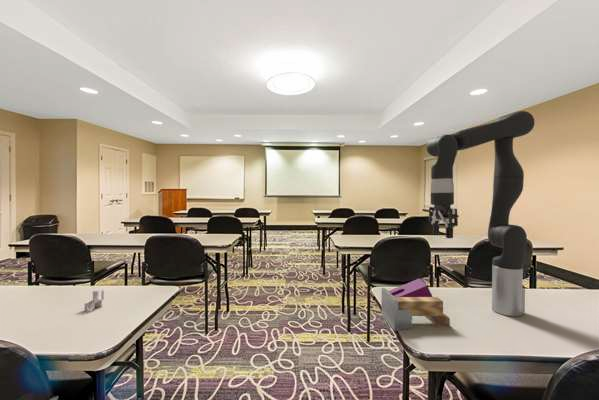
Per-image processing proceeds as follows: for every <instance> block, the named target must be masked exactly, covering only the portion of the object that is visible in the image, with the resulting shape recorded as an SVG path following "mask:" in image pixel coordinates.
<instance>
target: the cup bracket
mask: <svg viewBox="0 0 599 400" xmlns="http://www.w3.org/2000/svg"><path fill="white" fill-rule="evenodd" d="M389 291H390V290H388V289H386V288H385V287H384V288H383V287H382V288H381V316H382V318H383V319H384V320H385V321H386V323H387V324H388V326H390V327H391V329H392V330H393V331H394V332H399V331H400V330H412V328H413V327H412V325H413V323H412V321H413V319H412V318H413V316H412V311H411V310H398V300H397V299H396V298H395V297H394V296H393V295H392V294H391V293H390V292H389Z"/></svg>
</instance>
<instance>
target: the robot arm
mask: <svg viewBox="0 0 599 400" xmlns="http://www.w3.org/2000/svg"><path fill="white" fill-rule="evenodd" d="M535 122H536V121H535V119H534V116H533V115H532V113H531V112H528V111H525V110H520V111H519V110H518V111H514V112H511V113H508V114H504V115H502V116H500V117H499V118H497V119H496V121H494V122H491V123H485V124H481V125H477V126H472V127H469V128H465V129H461V130H458V131H456V132H454V133H450V134H442V135H440V136H437V137H434V138H432V139H430V140H429V141H428V143H427V144H426V151H427V153H428V154H429V155H430V156H431V157H435V158H437V159H436V162H434V163H433V164H432V165H431V167H430V181H431V182H430V205H432V206H429V208H428V222H429V223H431V225H432V235H433V236H439V235H440V222H441V221H442V223H444V225H445V238H446V239H453V238H454V228H455V227H458V226H459V221H458V220H459V219H458V208H455V207H454V208H452V205H455V193H454V192H455V183H454V165H455V161H456V157H457V153H458V151H463V150H468V149H470V148H474V147H477V146H480V145H482V144H483V145H484V144H487V143H489V142H492V141H493V145H494V166H493V167H494V170H493V181H492V182H493V183H492V202H491V211H490V217H489V224H488V230H487V238H488V242H490V244H491V245H492V246H494V247H498V248H502V253H501V255H498V256H494V257H493V258H492V264H491V265H492V267H491V270H492V271H491V274H492V276H491V309H492V311H494V313H497V314H501V315H504V316H507V317H521V316H522V315H525V314H526V313H525V312H526V311H525V310H526V309H525V308H526V307H525V306H526V303H525V302H526V289H525V288H524V287H523V285H524V284H523V283H524V282H523V272H524V271H523V270H524V263H525V261H526V257H527V247H528V246H527V244H528V237H527V232H526V230H525V229H524V228H523V226H519V225H516V224H510V223H509V220H510V214H511V211H512V208H513V207H514V205H515V203H516V202H517V201H518V199H519V198H520V196H521V194H522V192H523V191H524V181H525V179H524V177H525V173H524V172H525V171H524V169H523V166H521V164H520V162H519V160H518V158H517V157H516V156H515V153H514V139H515V138H520V137H523V136H526V135H528V134H529V133H530V132H532V130H534V127H535Z"/></svg>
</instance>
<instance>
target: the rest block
mask: <svg viewBox="0 0 599 400" xmlns="http://www.w3.org/2000/svg"><path fill="white" fill-rule="evenodd" d="M425 317H426V318H427V319H428V320H429V321H430V322H431V323H432V324H434V325H435V327H437V328H450V327H451V325H450V317H449V316H448V315H447V314H445V313H444V312H443V316H425Z"/></svg>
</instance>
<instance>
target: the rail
mask: <svg viewBox="0 0 599 400" xmlns="http://www.w3.org/2000/svg"><path fill="white" fill-rule="evenodd" d="M395 298H396V299H397V300H398V310H411V311H412V317H426V316H443V313H444V300H442V299H441V298H439V296H432V297H395Z"/></svg>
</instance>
